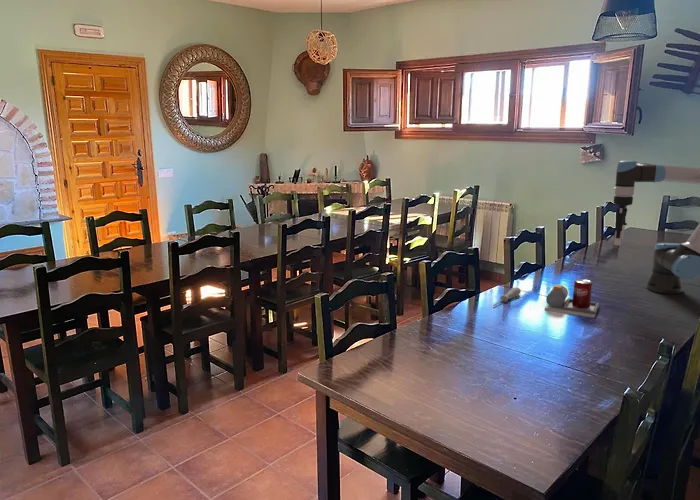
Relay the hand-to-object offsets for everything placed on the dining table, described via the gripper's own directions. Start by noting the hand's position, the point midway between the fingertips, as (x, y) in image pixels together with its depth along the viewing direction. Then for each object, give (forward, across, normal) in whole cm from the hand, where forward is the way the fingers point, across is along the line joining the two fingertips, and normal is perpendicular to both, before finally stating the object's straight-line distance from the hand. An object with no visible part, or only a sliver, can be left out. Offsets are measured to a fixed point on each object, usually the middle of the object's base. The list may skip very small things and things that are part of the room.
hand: (618, 242), depth 236 cm
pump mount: (+27, +24, -14) cm, 39 cm away
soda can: (+26, +24, -10) cm, 37 cm away
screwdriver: (+27, +28, -42) cm, 57 cm away
